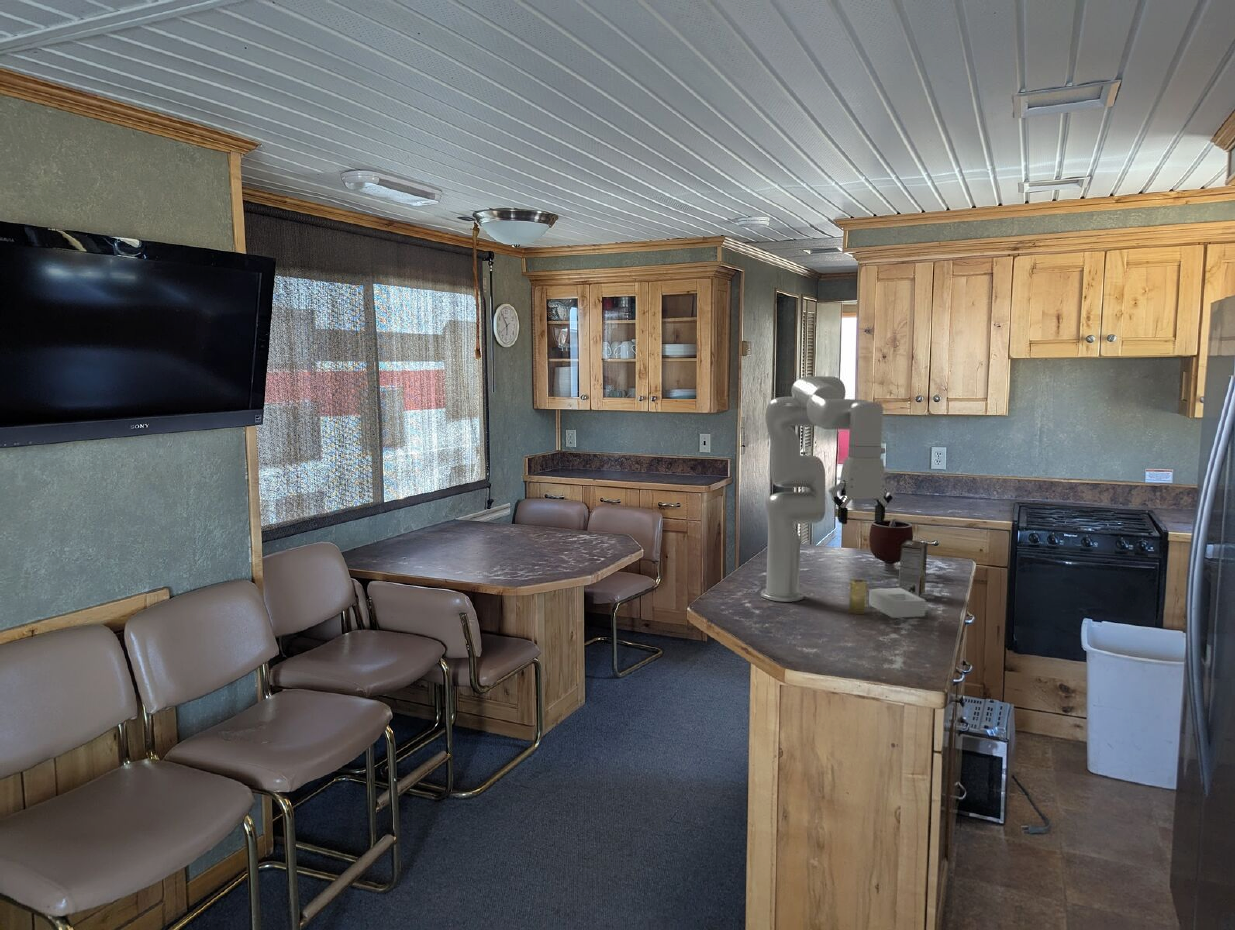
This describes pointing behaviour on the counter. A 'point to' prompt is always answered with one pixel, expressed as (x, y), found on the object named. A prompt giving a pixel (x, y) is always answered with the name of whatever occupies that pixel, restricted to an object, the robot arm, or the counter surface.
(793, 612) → the counter surface
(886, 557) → the dark red goblet
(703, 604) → the counter surface
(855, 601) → the cylinder
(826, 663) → the counter surface
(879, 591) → the block
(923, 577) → the coffee box
